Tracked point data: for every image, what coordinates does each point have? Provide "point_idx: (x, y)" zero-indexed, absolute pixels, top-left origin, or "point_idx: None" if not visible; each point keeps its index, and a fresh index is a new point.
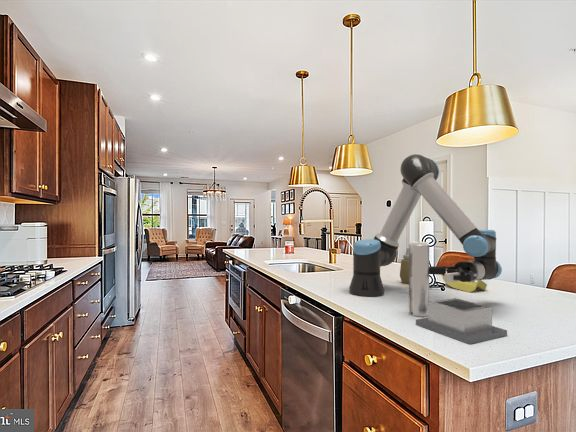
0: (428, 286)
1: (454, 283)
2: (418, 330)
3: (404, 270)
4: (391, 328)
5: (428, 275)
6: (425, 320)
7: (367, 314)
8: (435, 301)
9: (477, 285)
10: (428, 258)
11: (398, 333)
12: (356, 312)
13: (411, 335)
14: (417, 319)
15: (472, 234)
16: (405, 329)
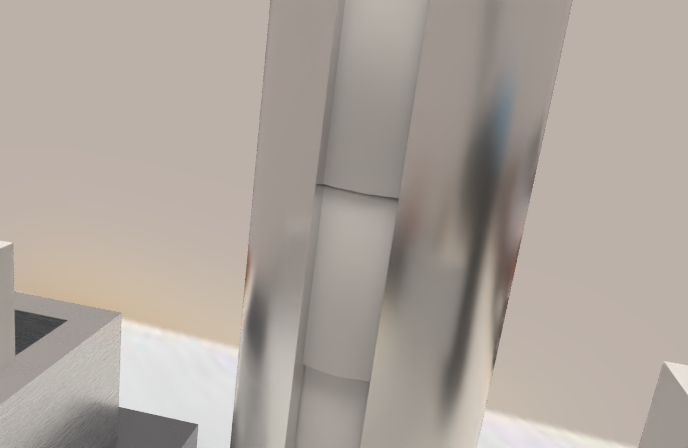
0: (233, 420)
1: None
2: (146, 396)
3: None
4: None
5: (245, 284)
6: (140, 442)
7: (502, 440)
8: (76, 334)
9: None
10: (267, 36)
11: (205, 340)
12: (562, 433)
13: (150, 347)
14: (190, 431)
15: None
16: (205, 379)
